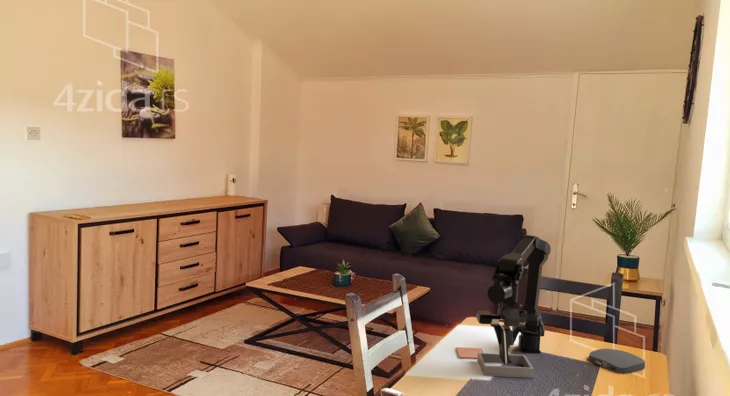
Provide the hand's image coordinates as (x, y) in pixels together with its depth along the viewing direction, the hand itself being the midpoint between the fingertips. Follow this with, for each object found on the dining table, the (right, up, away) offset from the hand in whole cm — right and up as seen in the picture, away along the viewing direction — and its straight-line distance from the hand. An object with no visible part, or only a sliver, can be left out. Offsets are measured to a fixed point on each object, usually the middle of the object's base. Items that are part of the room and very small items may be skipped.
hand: (505, 344), depth 173 cm
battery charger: (+1, -6, +1) cm, 6 cm away
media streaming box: (+40, -10, +9) cm, 42 cm away
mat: (-9, -7, +13) cm, 17 cm away
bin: (0, -8, +1) cm, 8 cm away
